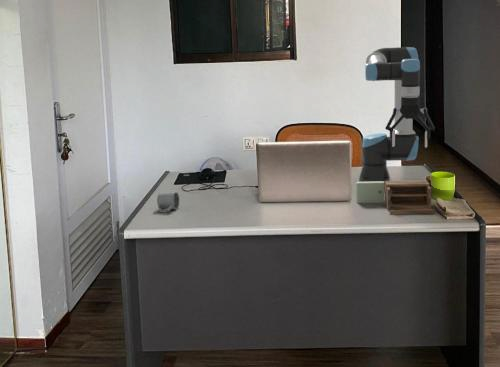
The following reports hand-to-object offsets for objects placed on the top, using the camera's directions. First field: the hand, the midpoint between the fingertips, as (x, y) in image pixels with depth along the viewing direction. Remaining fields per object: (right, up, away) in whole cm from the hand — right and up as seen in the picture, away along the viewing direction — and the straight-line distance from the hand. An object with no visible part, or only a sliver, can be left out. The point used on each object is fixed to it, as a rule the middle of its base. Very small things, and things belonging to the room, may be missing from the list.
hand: (409, 146), depth 326 cm
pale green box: (-15, -24, +14) cm, 31 cm away
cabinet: (0, -26, +1) cm, 26 cm away
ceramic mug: (-104, -27, +13) cm, 108 cm away
